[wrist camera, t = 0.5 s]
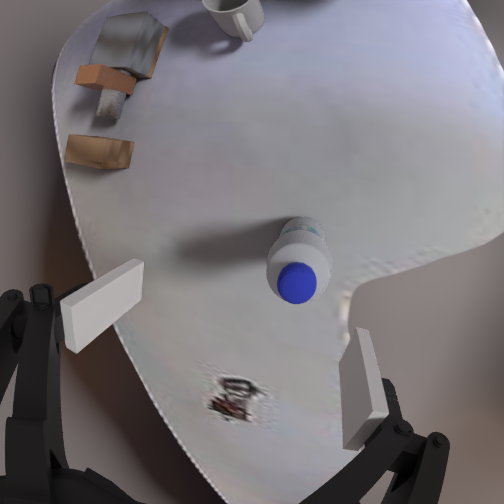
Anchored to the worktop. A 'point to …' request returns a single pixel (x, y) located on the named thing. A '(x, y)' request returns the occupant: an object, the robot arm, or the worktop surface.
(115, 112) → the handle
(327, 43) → the worktop surface
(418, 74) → the worktop surface
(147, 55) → the sleeve and socket
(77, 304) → the robot arm
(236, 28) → the cup
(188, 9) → the worktop surface
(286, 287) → the bottle
